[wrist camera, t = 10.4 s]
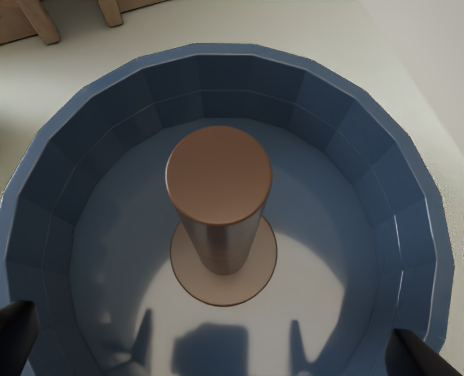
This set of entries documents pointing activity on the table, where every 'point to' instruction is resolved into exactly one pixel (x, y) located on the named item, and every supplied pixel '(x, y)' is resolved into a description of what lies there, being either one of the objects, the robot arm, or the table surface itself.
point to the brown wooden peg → (221, 216)
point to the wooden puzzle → (38, 21)
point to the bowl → (276, 213)
